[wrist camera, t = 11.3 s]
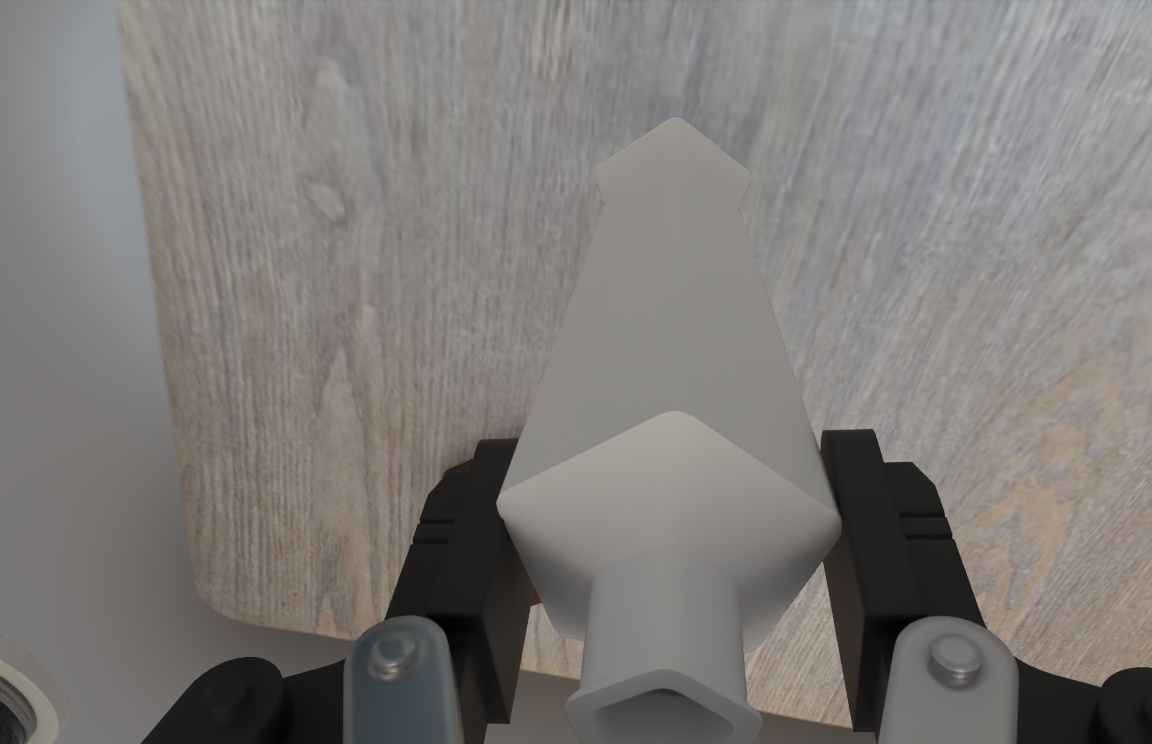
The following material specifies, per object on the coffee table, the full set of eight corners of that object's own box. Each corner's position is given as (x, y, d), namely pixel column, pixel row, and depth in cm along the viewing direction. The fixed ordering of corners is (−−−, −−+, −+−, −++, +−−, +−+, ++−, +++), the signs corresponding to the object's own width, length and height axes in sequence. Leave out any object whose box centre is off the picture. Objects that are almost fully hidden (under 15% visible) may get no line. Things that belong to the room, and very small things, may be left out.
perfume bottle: (782, 254, 23) (908, 829, 10) (619, 291, 24) (555, 852, 11) (747, 81, 20) (854, 557, 8) (567, 131, 21) (416, 619, 9)
